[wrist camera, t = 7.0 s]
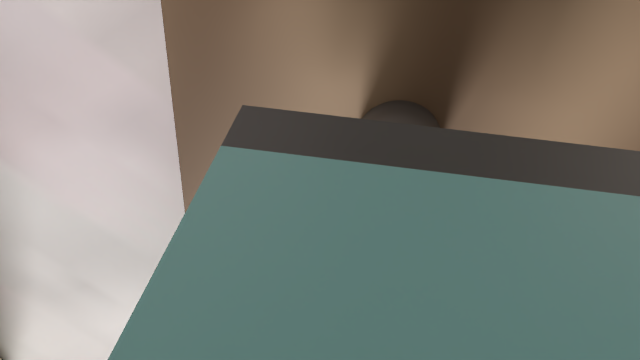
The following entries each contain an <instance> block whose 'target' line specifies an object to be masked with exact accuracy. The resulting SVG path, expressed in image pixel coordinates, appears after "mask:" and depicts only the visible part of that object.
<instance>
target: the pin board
mask: <svg viewBox="0 0 640 360" xmlns="http://www.w3.org/2000/svg"><path fill="white" fill-rule="evenodd" d="M161 6H162V15H163V24H164V32H165V41H166V50H167V59H168V67H169V76H170V85H171V94H172V102H173V111H174V120H175V129H176V137H177V146H178V155H179V164H180V172H181V181H182V190H183V199H184V207H185V213H186V211H187V209H188V207H189V205H190V203H191V201H192V199H193V198H194V196H195V194H196V192H197V190H198V188H199V186H200V184H201V182H202V181H203V179H204V177H205V175H206V173H207V171H208V169H209V167H210V165H211V163H212V162H213V160H214V158H215V156H216V154H217V152H218V150H219V148H220V146H221V145H222V143H223V141H224V139H225V137H226V135H227V133H228V131H229V129H230V128H231V126H232V124H233V122H234V120H235V118H236V116H237V114H238V112H239V110H240V109H241V107H242V105H248V106H256V107H265V108H273V109H282V110H291V111H299V112H308V113H316V114H325V115H334V116H342V117H351V118H359V119H368V120H377V121H385V122H394V123H402V124H411V125H419V126H428V127H437V128H445V129H454V130H462V131H471V132H480V133H488V134H497V135H505V136H514V137H523V138H531V139H540V140H548V141H557V142H566V143H574V144H583V145H591V146H600V147H608V148H617V149H626V150H634V151H640V0H161Z"/></svg>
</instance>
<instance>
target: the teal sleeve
mask: <svg viewBox="0 0 640 360" xmlns="http://www.w3.org/2000/svg"><path fill="white" fill-rule="evenodd" d="M108 360H640V151H634V150H626V149H617V148H608V147H600V146H591V145H583V144H574V143H566V142H557V141H548V140H540V139H531V138H523V137H514V136H505V135H497V134H488V133H480V132H471V131H462V130H454V129H445V128H437V127H428V126H419V125H411V124H402V123H394V122H385V121H377V120H368V119H359V118H351V117H342V116H334V115H325V114H316V113H308V112H299V111H291V110H282V109H273V108H265V107H256V106H248V105H242V107H241V109H240V110H239V112H238V114H237V116H236V118H235V120H234V122H233V124H232V126H231V128H230V129H229V131H228V133H227V135H226V137H225V139H224V141H223V143H222V145H221V146H220V148H219V150H218V152H217V154H216V156H215V158H214V160H213V162H212V163H211V165H210V167H209V169H208V171H207V173H206V175H205V177H204V179H203V181H202V182H201V184H200V186H199V188H198V190H197V192H196V194H195V196H194V198H193V199H192V201H191V203H190V205H189V207H188V209H187V211H186V213H185V215H184V216H183V218H182V220H181V222H180V224H179V226H178V228H177V230H176V232H175V234H174V235H173V237H172V239H171V241H170V243H169V245H168V247H167V249H166V251H165V252H164V254H163V256H162V258H161V260H160V262H159V264H158V266H157V268H156V269H155V271H154V273H153V275H152V277H151V279H150V281H149V283H148V285H147V287H146V288H145V290H144V292H143V294H142V296H141V298H140V300H139V302H138V304H137V305H136V307H135V309H134V311H133V313H132V315H131V317H130V319H129V321H128V323H127V324H126V326H125V328H124V330H123V332H122V334H121V336H120V338H119V340H118V341H117V343H116V345H115V347H114V349H113V351H112V353H111V355H110V357H109V358H108Z"/></svg>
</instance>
